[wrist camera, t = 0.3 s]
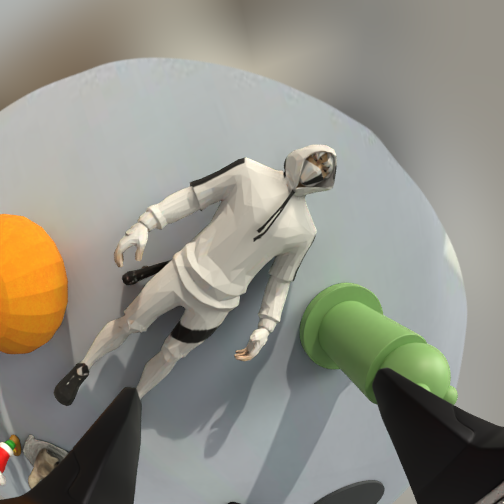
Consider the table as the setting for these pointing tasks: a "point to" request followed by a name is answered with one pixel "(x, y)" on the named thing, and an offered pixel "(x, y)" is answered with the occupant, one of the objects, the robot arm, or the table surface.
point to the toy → (369, 342)
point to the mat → (356, 494)
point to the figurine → (217, 259)
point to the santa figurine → (8, 454)
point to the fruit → (29, 285)
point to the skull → (41, 458)
